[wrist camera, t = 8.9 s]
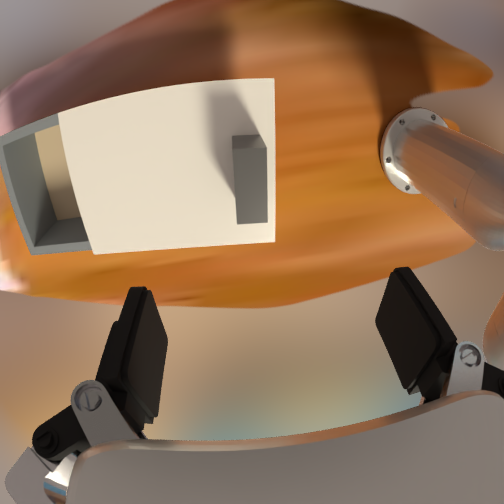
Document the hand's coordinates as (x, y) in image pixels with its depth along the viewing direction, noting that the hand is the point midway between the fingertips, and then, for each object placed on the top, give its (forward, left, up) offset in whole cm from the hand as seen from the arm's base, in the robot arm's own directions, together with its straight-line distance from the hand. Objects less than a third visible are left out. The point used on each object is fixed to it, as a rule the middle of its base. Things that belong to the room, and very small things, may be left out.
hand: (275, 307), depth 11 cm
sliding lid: (+5, +5, -18) cm, 19 cm away
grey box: (+13, +13, -26) cm, 32 cm away
